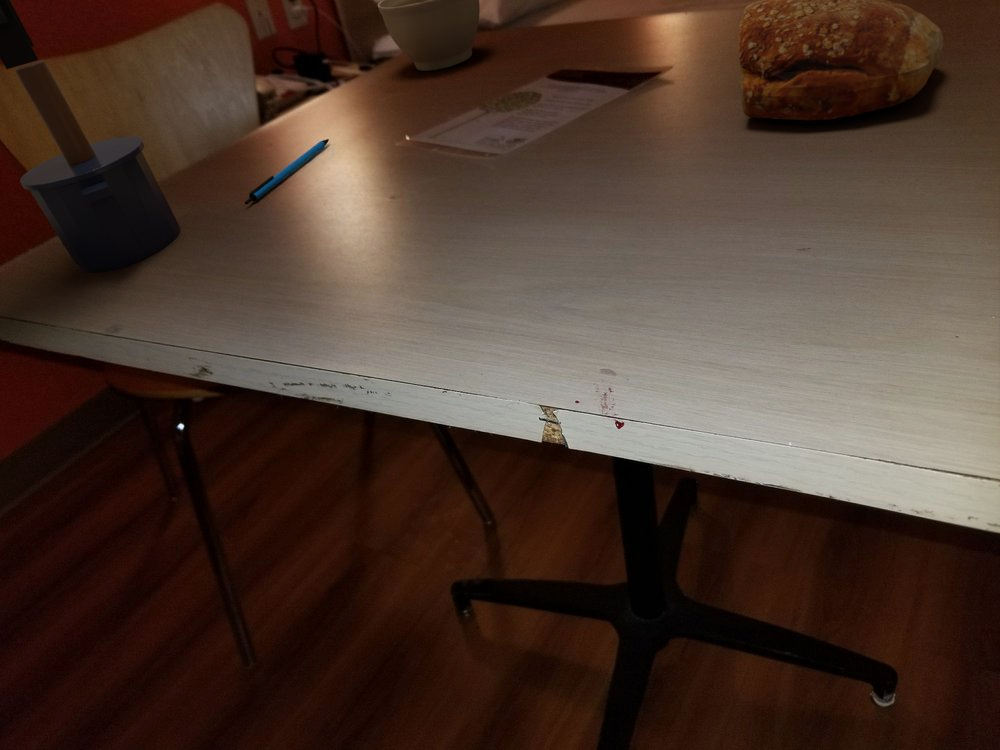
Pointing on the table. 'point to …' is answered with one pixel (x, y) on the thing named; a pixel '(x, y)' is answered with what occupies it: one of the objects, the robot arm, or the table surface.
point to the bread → (832, 57)
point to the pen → (284, 172)
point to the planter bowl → (432, 30)
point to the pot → (111, 216)
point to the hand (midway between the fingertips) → (21, 57)
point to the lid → (68, 137)
